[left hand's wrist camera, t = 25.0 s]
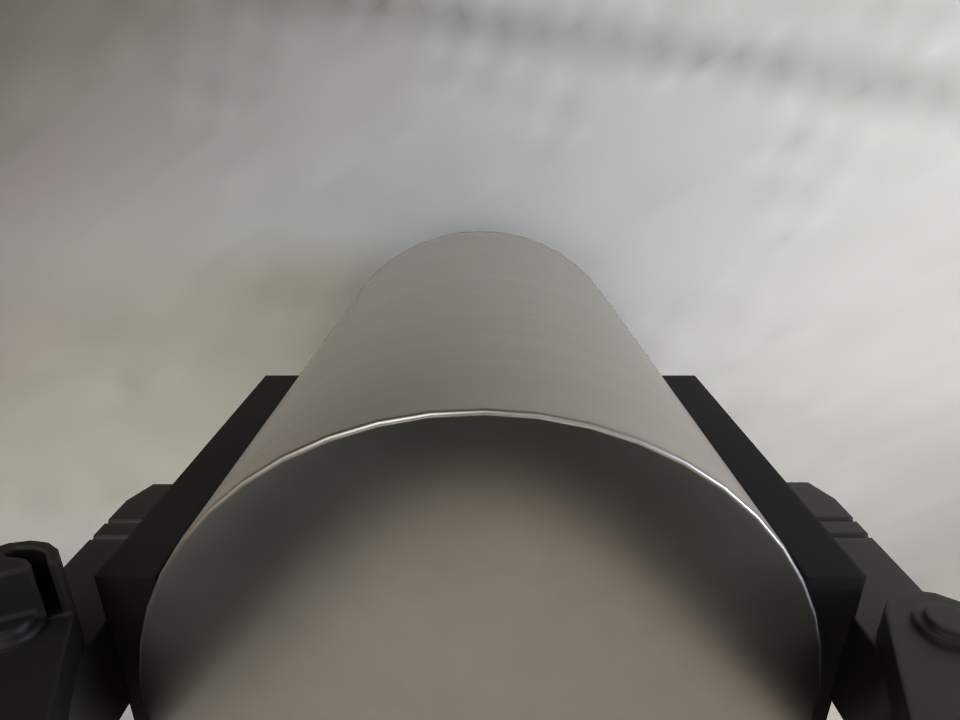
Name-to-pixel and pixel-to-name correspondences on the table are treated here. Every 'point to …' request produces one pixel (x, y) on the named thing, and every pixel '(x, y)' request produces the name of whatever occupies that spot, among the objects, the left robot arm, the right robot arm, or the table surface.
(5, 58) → the table surface
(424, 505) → the tin
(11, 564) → the left robot arm
